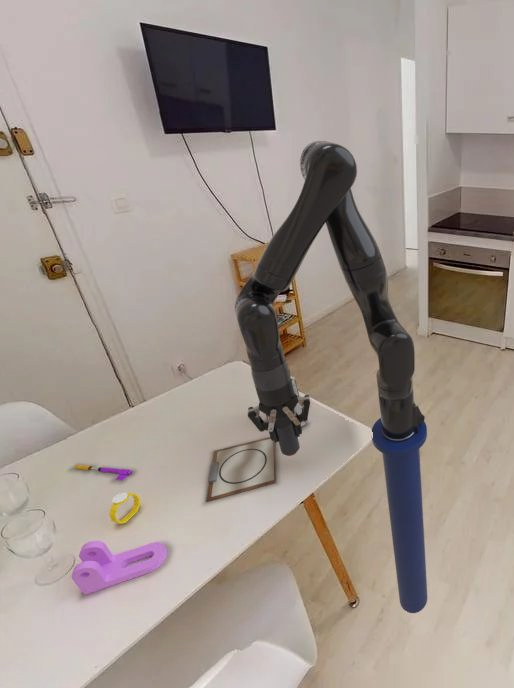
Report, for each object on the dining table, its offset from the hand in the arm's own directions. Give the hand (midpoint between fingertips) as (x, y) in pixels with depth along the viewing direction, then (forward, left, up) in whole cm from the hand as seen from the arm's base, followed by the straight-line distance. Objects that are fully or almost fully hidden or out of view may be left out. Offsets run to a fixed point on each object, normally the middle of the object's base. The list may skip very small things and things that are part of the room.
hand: (287, 436), depth 97 cm
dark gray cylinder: (0, 0, -5) cm, 5 cm away
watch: (+35, +3, -9) cm, 36 cm away
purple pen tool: (+45, -14, -9) cm, 48 cm away
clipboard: (+12, -3, -9) cm, 15 cm away
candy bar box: (+1, -16, -9) cm, 18 cm away
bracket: (+32, +16, -9) cm, 37 cm away
